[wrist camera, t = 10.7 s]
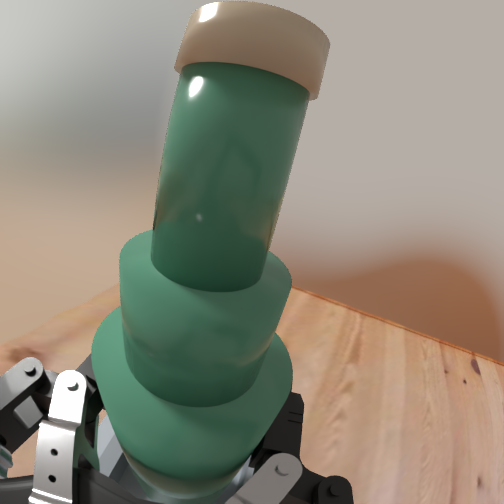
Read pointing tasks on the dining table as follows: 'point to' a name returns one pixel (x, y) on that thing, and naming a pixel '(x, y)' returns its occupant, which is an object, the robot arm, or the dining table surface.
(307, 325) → the dining table surface
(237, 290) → the bottle
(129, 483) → the bottle rest
